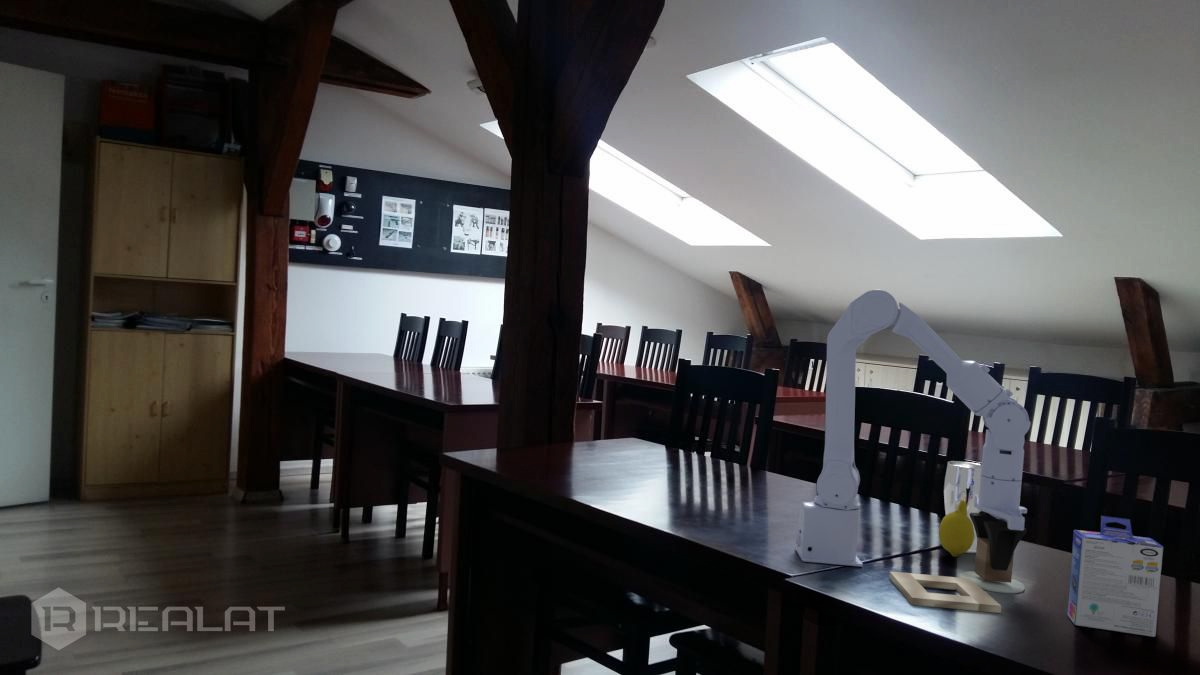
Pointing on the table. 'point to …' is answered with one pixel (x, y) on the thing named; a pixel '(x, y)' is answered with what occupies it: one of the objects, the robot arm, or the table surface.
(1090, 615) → the ink cartridge box
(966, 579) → the pocket block
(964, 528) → the lemon
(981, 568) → the walnut block
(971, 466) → the beer glass
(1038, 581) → the table surface
